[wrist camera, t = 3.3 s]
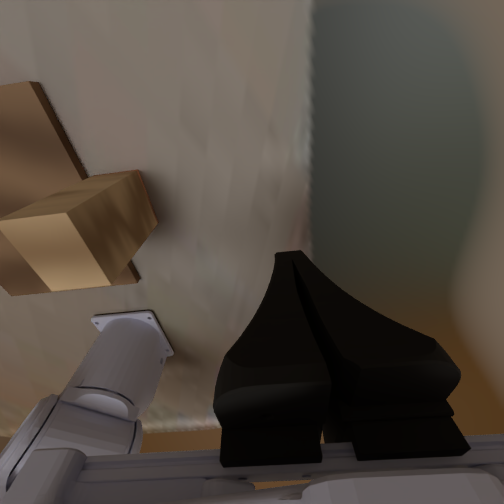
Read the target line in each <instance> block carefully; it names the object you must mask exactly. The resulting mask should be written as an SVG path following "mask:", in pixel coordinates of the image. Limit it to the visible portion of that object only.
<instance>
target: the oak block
mask: <svg viewBox="0 0 504 504" xmlns="http://www.w3.org/2000/svg"><path fill="white" fill-rule="evenodd" d="M158 223H159V222H158V220H157V217H156V215H155V212H154V209H153V207H152V204H151V202H150V199H149V197H148V194H147V192H146V189H145V186H144V184H143V181H142V179H141V176H140V174H139V171H138V170H132V171H124V172H117V173H109V174H102V175H94V176H91V177H89V178H87V179H85V180H82V181H80V182H78V183H76V184H74V185H72V186H69V187H67V188H65V189H63V190H61V191H59V192H56V193H54V194H52V195H50V196H48V197H46V198H43V199H41V200H39V201H37V202H35V203H33V204H30V205H28V206H26V207H24V208H22V209H20V210H17V211H15V212H13V213H11V214H9V215H7V216H4V217H2V218H0V230H1V232H2V233H3V234H4V235H5V236H6V238H7V239H8V240H9V241H10V242H11V243H12V245H13V246H14V247H15V248H16V249H17V251H18V252H19V253H20V254H21V255H22V256H23V258H24V259H25V260H26V261H27V262H28V264H29V265H30V266H31V267H32V268H33V270H34V271H35V272H36V273H37V274H38V275H39V277H40V278H41V279H42V280H43V281H44V283H45V284H46V285H47V286H48V287H49V289H50V290H51V291H62V290H71V289H81V288H90V287H100V286H109V285H112V284H113V282H114V281H115V280H116V278H117V277H118V276H119V275H120V273H121V272H122V271H123V269H124V268H125V267H126V265H127V264H128V263H129V261H130V260H131V259H132V257H133V256H134V255H135V253H136V252H137V251H138V249H139V248H140V247H141V245H142V244H143V243H144V241H145V240H146V239H147V237H148V236H149V235H150V233H151V232H152V231H153V229H154V228H155V227H156V225H157V224H158Z"/></svg>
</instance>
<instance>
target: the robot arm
mask: <svg viewBox="0 0 504 504" xmlns="http://www.w3.org/2000/svg"><path fill="white" fill-rule="evenodd" d="M91 321H92V322H93V324H94V325H95V326H96V327H97V329H98V330H99V331H100V332H101V333H100V334H99V336H98V338H97V339H96V341H95V342H94V344H93V345H92V347H91V348H90V350H89V351H88V353H87V355H86V356H85V358H84V359H83V361H82V362H81V364H80V365H79V367H78V368H77V370H76V372H75V373H74V375H73V376H72V378H71V379H70V381H69V382H68V384H67V385H66V387H65V389H64V390H63V392H62V393H61V394H60V395H59V396H58V395H55V394H51V395H50V396H49V397H46V398H43V399H41V400H40V401H39V402H38V403H37V405H36V406H35V407H34V408H33V410H32V411H31V412H30V414H29V415H28V416H27V418H26V419H25V420H24V422H23V423H22V424H21V426H20V427H19V428H18V430H17V431H16V433H15V434H14V435H13V437H12V438H11V440H10V441H9V442H8V444H7V445H6V447H5V448H4V449H3V451H2V452H1V454H0V504H504V434H493V435H474V436H463V435H462V433H461V432H460V430H459V429H458V427H457V425H456V424H455V422H454V421H453V419H452V418H451V416H453V415H454V411H453V409H452V408H451V406H450V405H449V404H448V402H447V400H446V399H447V398H448V396H449V395H450V393H451V392H452V391H453V390H454V389H455V387H456V386H457V385H458V383H459V381H460V378H461V371H460V369H459V368H458V367H457V366H456V365H455V363H454V362H453V361H452V359H451V358H450V356H449V355H448V354H447V353H446V351H445V350H444V349H443V348H442V347H441V346H440V345H439V343H437V341H436V340H435V339H434V338H431V337H429V336H426V335H424V334H422V333H420V332H417V331H415V330H413V329H410V328H408V327H406V326H404V325H401V324H399V323H397V322H395V321H393V320H391V319H389V318H387V317H385V316H383V315H382V314H379V313H378V312H376V311H374V310H373V309H371V308H369V307H368V306H366V305H364V304H363V303H361V302H359V301H358V300H356V299H355V298H353V297H352V296H350V295H349V294H348V293H346V292H345V291H343V290H342V289H341V288H340V287H338V286H337V285H335V283H333V282H332V281H331V280H330V279H329V278H328V277H326V276H325V275H324V274H323V273H322V272H321V271H320V270H319V269H318V268H317V267H316V266H315V265H314V264H313V263H312V262H311V261H310V260H309V258H308V257H307V256H306V255H305V254H304V253H303V252H302V251H301V250H297V251H287V252H277V253H276V254H275V264H274V269H273V273H272V277H271V280H270V283H269V286H268V289H267V291H266V294H265V296H264V298H263V300H262V302H261V304H260V306H259V308H258V310H257V312H256V314H255V315H254V317H253V319H252V320H251V322H250V323H249V325H248V326H247V328H246V329H245V331H244V332H243V333H242V335H241V336H240V338H239V339H238V340H237V341H236V342H235V344H234V345H233V346H232V347H231V349H230V350H229V351H228V352H227V353H226V355H225V356H224V359H223V362H222V365H221V367H220V371H219V374H218V378H217V382H216V386H215V394H214V402H213V409H214V413H215V415H216V417H217V419H218V421H219V423H220V425H221V427H222V435H221V448H220V449H214V450H195V451H177V452H157V453H141V454H140V453H139V451H140V448H141V444H142V438H143V430H142V423H141V421H140V420H139V419H137V417H139V416H140V415H141V414H142V413H143V412H144V411H145V410H146V409H147V408H148V406H149V405H150V403H151V402H152V400H153V398H154V395H155V392H156V389H157V386H158V383H159V380H160V377H161V374H162V370H163V367H164V364H165V361H166V358H167V356H173V354H174V351H173V350H172V348H171V346H170V344H169V342H168V340H167V338H166V337H165V335H164V333H163V331H162V329H161V327H160V325H159V324H158V322H157V320H156V318H155V316H154V314H153V313H152V312H151V311H140V312H130V313H120V314H109V315H99V316H93V317H92V318H91ZM322 431H323V436H324V442H325V444H320V440H321V434H322ZM313 479H314V480H313ZM290 480H311V481H310V482H309V483H305V484H297V485H290V486H282V487H275V488H267V489H260V490H255V486H254V485H253V484H252V483H249V482H266V481H267V482H268V481H290ZM6 492H7V493H6Z"/></svg>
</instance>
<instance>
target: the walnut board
mask: <svg viewBox="0 0 504 504" xmlns="http://www.w3.org/2000/svg"><path fill="white" fill-rule="evenodd" d="M87 178H88V177H87V175H86V173H85V171H84V169H83V168H82V166H81V164H80V162H79V160H78V158H77V156H76V154H75V152H74V150H73V148H72V146H71V144H70V143H69V141H68V139H67V137H66V135H65V133H64V131H63V129H62V127H61V125H60V123H59V121H58V119H57V118H56V116H55V114H54V112H53V110H52V108H51V106H50V104H49V102H48V100H47V98H46V96H45V95H44V93H43V91H42V89H41V87H40V85H39V83H38V82H31V81H27V82H21V83H14V84H8V85H2V86H0V218H2V217H4V216H7V215H9V214H11V213H13V212H15V211H17V210H20V209H22V208H24V207H26V206H28V205H30V204H33V203H35V202H37V201H39V200H41V199H43V198H46V197H48V196H50V195H52V194H54V193H56V192H59V191H61V190H63V189H65V188H67V187H69V186H72V185H74V184H76V183H78V182H80V181H82V180H85V179H87ZM139 280H140V277H139V275H138V273H137V271H136V269H135V267H134V265H133V264H132V262H131V260H130V261H129V263H128V264H127V265H126V267H125V268H124V269H123V271H122V272H121V273H120V275H119V276H118V277H117V278H116V280H115V281H114V282H113V284H112V285H109V286H115V285H125V284H134V283H138V281H139ZM0 285H1V286H2V287H3V288H4V289H5V290H6V291H7V292H8V293H9V294H10V295H11V296H19V295H28V294H38V293H47V292H57V291H51V290H50V289H49V287H48V286H47V285H46V284H45V283H44V281H43V280H42V279H41V278H40V277H39V275H38V274H37V273H36V272H35V271H34V270H33V268H32V267H31V266H30V265H29V264H28V262H27V261H26V260H25V259H24V258H23V256H22V255H21V254H20V253H19V252H18V251H17V249H16V248H15V247H14V246H13V245H12V243H11V242H10V241H9V240H8V239H7V238H6V236H5V235H4V234H3V233H2V232H1V230H0ZM100 287H105V286H100ZM90 288H96V287H90ZM81 289H86V288H81ZM71 290H76V289H71ZM62 291H67V290H62Z"/></svg>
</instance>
